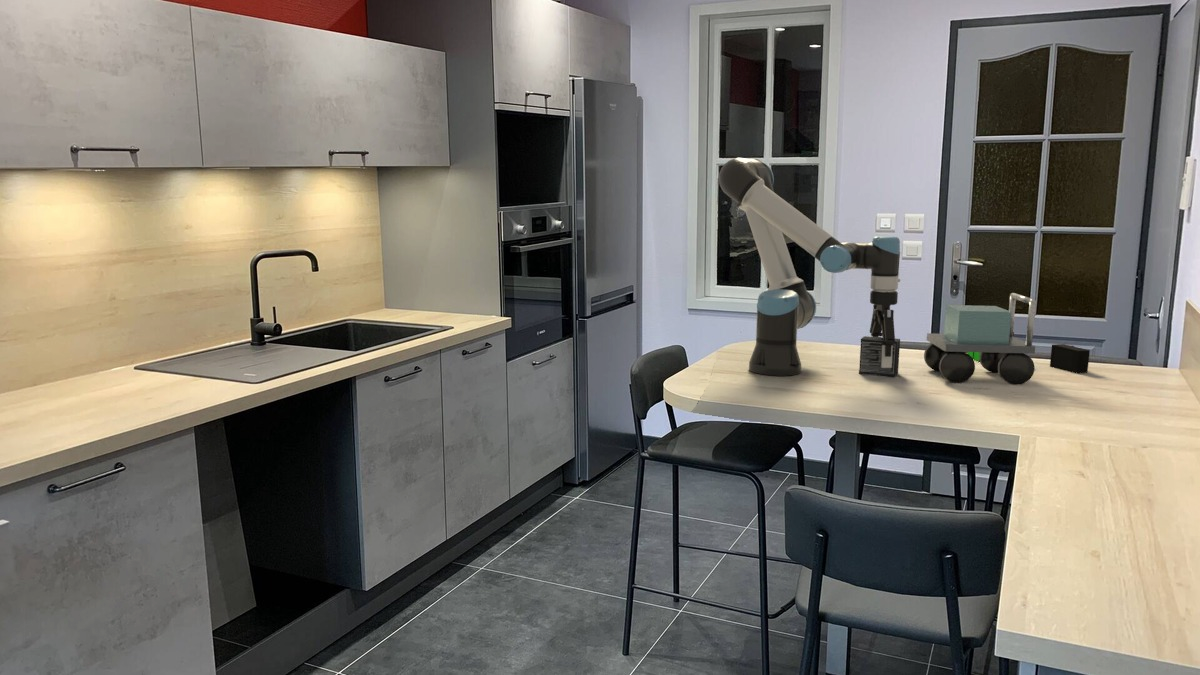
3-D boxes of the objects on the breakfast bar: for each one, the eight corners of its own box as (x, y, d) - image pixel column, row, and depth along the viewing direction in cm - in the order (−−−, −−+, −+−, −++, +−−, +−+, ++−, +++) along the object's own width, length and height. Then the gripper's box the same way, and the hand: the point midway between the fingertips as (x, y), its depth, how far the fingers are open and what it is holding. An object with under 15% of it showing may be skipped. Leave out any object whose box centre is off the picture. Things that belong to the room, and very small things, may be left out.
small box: (898, 373, 258) (901, 338, 257) (896, 377, 253) (898, 341, 251) (861, 369, 263) (863, 335, 261) (858, 374, 257) (860, 338, 255)
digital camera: (1091, 372, 262) (1093, 349, 260) (1076, 373, 260) (1078, 350, 259) (1064, 365, 271) (1066, 343, 270) (1049, 366, 270) (1051, 344, 269)
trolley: (940, 383, 246) (947, 298, 242) (922, 369, 264) (928, 290, 259) (1033, 385, 244) (1041, 300, 240) (1008, 371, 262) (1016, 292, 258)
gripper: (909, 295, 241) (905, 371, 244) (886, 285, 265) (883, 355, 269) (881, 295, 241) (877, 371, 245) (861, 285, 266) (858, 354, 269)
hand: (880, 362), depth 257 cm, fingers open, 13 cm apart
